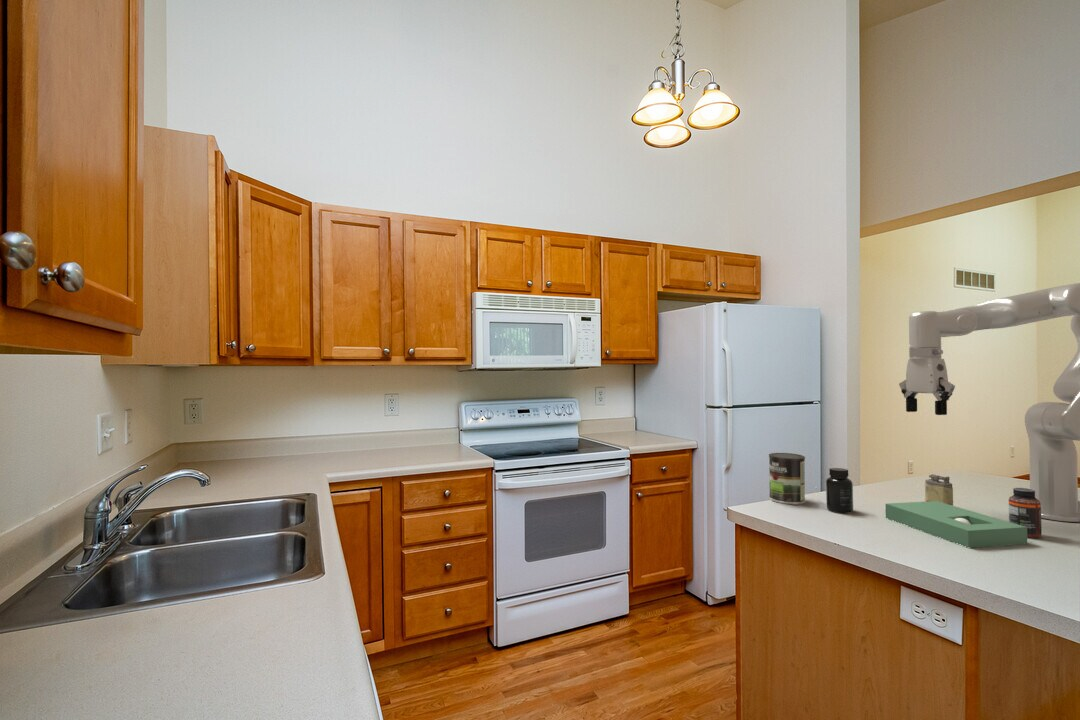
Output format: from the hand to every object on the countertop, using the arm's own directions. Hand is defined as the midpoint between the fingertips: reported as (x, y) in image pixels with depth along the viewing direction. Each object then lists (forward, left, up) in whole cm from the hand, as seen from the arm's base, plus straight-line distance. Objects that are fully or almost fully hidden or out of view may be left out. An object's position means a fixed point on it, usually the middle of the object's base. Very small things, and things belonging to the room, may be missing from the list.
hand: (925, 413), depth 152 cm
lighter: (-5, -1, -28) cm, 29 cm away
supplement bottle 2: (-6, +22, -28) cm, 37 cm away
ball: (+10, +20, -26) cm, 34 cm away
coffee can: (+32, -18, -28) cm, 46 cm away
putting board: (+9, +16, -28) cm, 34 cm away
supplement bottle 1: (+24, -5, -28) cm, 38 cm away
